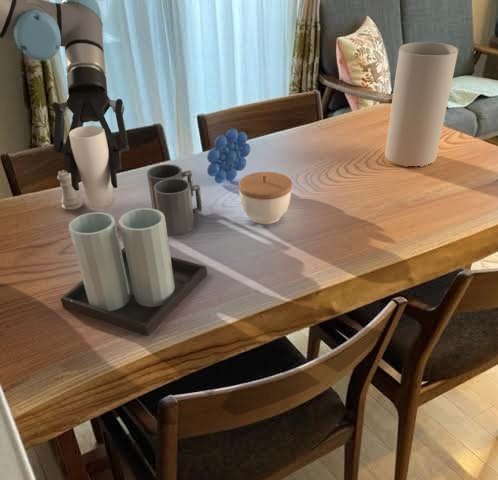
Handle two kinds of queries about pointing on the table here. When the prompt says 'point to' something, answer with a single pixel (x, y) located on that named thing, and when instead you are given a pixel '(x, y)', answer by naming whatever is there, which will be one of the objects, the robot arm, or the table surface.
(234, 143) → the grapes
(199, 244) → the table surface
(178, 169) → the grey mug far
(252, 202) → the trinket box
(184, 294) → the tray
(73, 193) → the rook chess piece
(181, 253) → the table surface
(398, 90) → the cylinder vase
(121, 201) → the table surface
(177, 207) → the grey mug near
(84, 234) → the tumbler
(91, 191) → the drinking glass
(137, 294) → the tumbler
